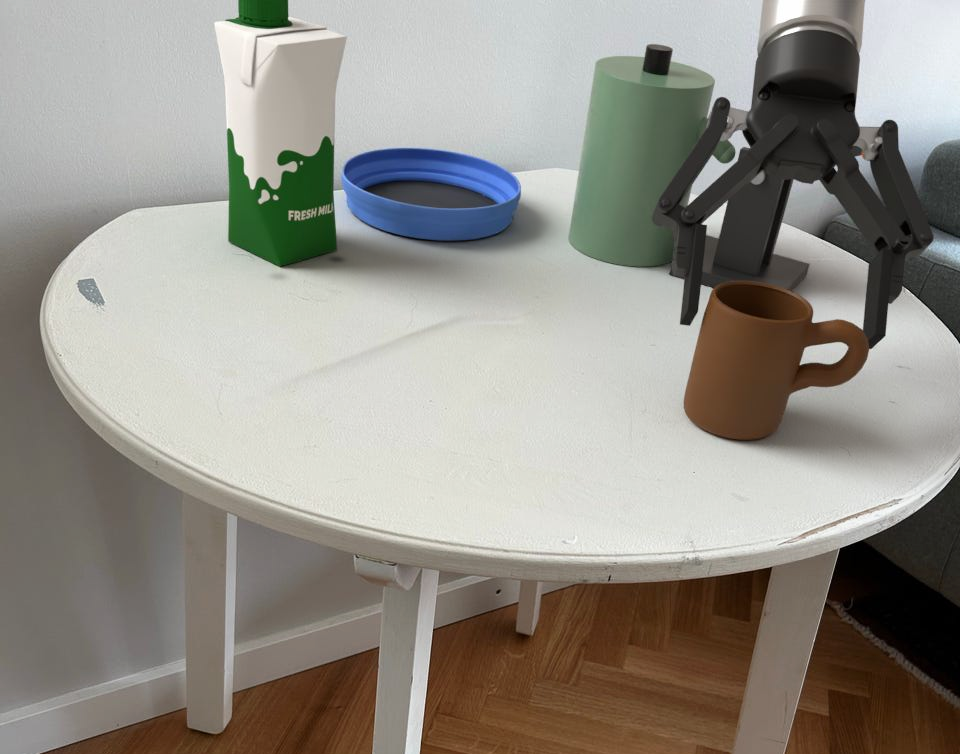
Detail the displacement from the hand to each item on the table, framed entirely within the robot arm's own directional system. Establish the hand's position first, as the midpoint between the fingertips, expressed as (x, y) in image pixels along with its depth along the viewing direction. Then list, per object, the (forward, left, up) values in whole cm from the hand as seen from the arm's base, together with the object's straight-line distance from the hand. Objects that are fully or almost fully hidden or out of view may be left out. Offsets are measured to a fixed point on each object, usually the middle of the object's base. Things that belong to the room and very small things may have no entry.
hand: (781, 330), depth 81 cm
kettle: (+21, -27, -7) cm, 35 cm away
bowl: (+41, -21, -7) cm, 47 cm away
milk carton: (+46, -3, -7) cm, 47 cm away
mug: (-1, +1, -7) cm, 7 cm away
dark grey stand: (+10, -28, -7) cm, 31 cm away
